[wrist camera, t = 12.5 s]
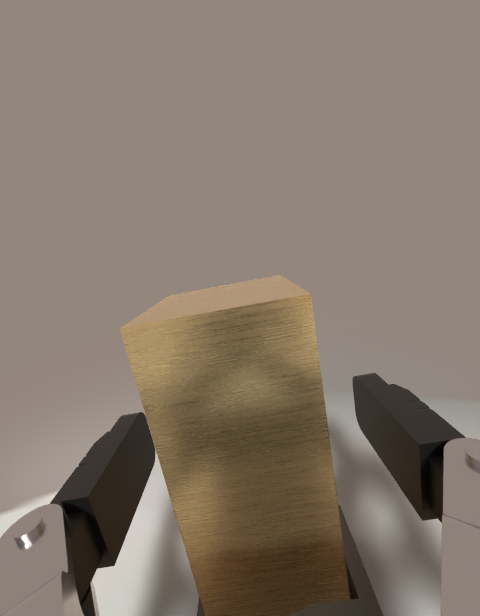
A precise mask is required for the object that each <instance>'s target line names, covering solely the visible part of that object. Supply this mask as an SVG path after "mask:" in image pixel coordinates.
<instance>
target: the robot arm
mask: <svg viewBox="0 0 480 616" xmlns="http://www.w3.org/2000/svg"><path fill="white" fill-rule="evenodd" d="M353 391H354V401H355V411H356V417H357V421H358V424H359V426H360V428H361V430H362V432H363V434H364V435H365V437H366V438H367V439H368V441H369V442H370V444H371V445H372V447H373V448H374V450H375V451H376V453H377V454H378V456H379V457H380V459H381V460H382V462H383V463H384V465H385V466H386V467H387V469H388V470H389V472H390V473H391V475H392V476H393V478H394V479H395V481H396V482H397V484H398V485H399V487H400V488H401V490H402V491H403V493H404V494H405V496H406V497H407V498H408V500H409V501H410V503H411V504H412V506H413V507H414V509H415V510H416V512H417V513H418V515H419V516H420V518H421V519H422V521H424V520H430V519H437V518H438V519H439V520H440V521H441V523H442V559H441V616H480V440H478V439H472V438H466V437H464V436H463V435H462V434H461V433H460V432H458V431H457V430H456V429H455V428H454V427H452V426H451V425H450V424H449V423H448V422H446V421H445V420H444V419H443V418H442V417H440V416H439V415H438V414H437V413H436V412H434V411H433V410H432V409H431V410H430V408H429V407H428V406H427V405H426V404H425V403H423V402H421V401H420V399H419V398H417V397H416V396H415V395H414V394H413V393H411V392H410V391H409V390H407V389H404V388H402V387H400V386H398V385H395V384H391V385H388V384H387V383H386V382H385V381H384V380H382V378H380V377H379V376H378V375H377V374H376V373H371V374H365V375H359V376H354V377H353ZM154 462H155V447H154V443H153V440H152V436H151V433H150V430H149V426H148V423H147V420H146V417H145V415H144V413H142V412H140V413H134V414H128V415H123V416H121V417H120V418H119V419H118V421H117V422H116V423H115V425H114V426H113V428H112V429H111V431H110V432H107V433H106V434H105V435H104V436H102V437H101V438H100V439H99V440H98V441H96V443H94V445H93V446H92V447H91V449H90V450H89V452H88V453H87V454H86V457H84V458H83V460H82V461H81V462H80V464H79V467H77V468H76V469H75V470H74V472H73V473H72V474H71V476H70V477H69V478H68V480H67V481H66V482H65V484H64V485H63V487H62V488H61V489H60V491H59V492H58V493H57V495H56V496H55V497H54V499H53V500H52V501H51V503H50V504H48V505H44V506H41V507H39V508H37V509H35V510H33V511H31V512H29V513H28V514H26V515H25V516H23V517H22V518H20V519H19V520H18V521H17V522H15V523H14V524H13V525H12V526H11V527H10V528H9V529H8V530H7V531H6V532H5V533H4V534H3V536H2V537H1V538H0V616H99V611H98V605H97V599H96V594H95V588H94V585H93V583H92V579H93V576H94V574H95V572H96V570H97V568H103V567H110V566H114V565H115V563H116V560H117V558H118V555H119V552H120V550H121V547H122V545H123V542H124V540H125V537H126V535H127V532H128V529H129V527H130V524H131V522H132V519H133V517H134V514H135V512H136V509H137V506H138V504H139V501H140V499H141V496H142V494H143V491H144V489H145V486H146V483H147V481H148V478H149V476H150V473H151V471H152V468H153V466H154ZM291 616H369V615H368V612H367V609H366V607H365V604H364V601H363V598H359V599H352V600H345V601H338V602H331V603H324V604H317V605H310V606H308V607H306V608H304V609H302V610H301V611H299V612H297V613H295V614H293V615H291Z"/></svg>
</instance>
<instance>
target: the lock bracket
mask: <svg viewBox="0 0 480 616" xmlns="http://www.w3.org/2000/svg"><path fill="white" fill-rule="evenodd" d="M338 510H339V517H340V525H341V533H342V541H343V548H344V556H345V564H346V572H347V579H348V587H349V593H350V596H351V599H359V598H363V601H364V604H365V607H366V609H367V612H368V615H369V616H383V614H382V612H381V609H380V607H379V604H378V602H377V599H376V596H375V594H374V591H373V589H372V586H371V584H370V581H369V579H368V576H367V574H366V571H365V569H364V566H363V564H362V561H361V558H360V556H359V553H358V551H357V548H356V546H355V543H354V541H353V538H352V536H351V533H350V531H349V528H348V525H347V523H346V520H345V518H344V515H343V513H342V510H341V508H340V505H338ZM197 616H205V613H204V609H203V606H202V603H201V599H200V596H199V604H198V613H197Z"/></svg>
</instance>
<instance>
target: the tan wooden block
mask: <svg viewBox="0 0 480 616" xmlns="http://www.w3.org/2000/svg"><path fill="white" fill-rule="evenodd" d="M120 330H121V334H122V337H123V340H124V344H125V347H126V350H127V354H128V357H129V360H130V364H131V367H132V370H133V374H134V377H135V380H136V384H137V387H138V391H139V394H140V397H141V401H142V404H143V408H144V411H145V414H146V418H147V421H148V424H149V428H150V431H151V434H152V438H153V441H154V445H155V448H156V451H157V455H158V458H159V461H160V465H161V468H162V471H163V475H164V478H165V482H166V485H167V488H168V492H169V495H170V498H171V502H172V505H173V508H174V512H175V515H176V519H177V522H178V525H179V529H180V532H181V535H182V539H183V542H184V545H185V549H186V552H187V556H188V559H189V562H190V566H191V569H192V572H193V576H194V579H195V582H196V586H197V589H198V592H199V596H200V599H201V603H202V606H203V609H204V613H205V616H291V615H293V614H295V613H297V612H299V611H301V610H302V609H304V608H306V607H308V606H310V605H317V604H324V603H331V602H338V601H345V600H350V595H349V587H348V579H347V572H346V564H345V556H344V548H343V541H342V533H341V525H340V517H339V510H338V502H337V494H336V486H335V479H334V471H333V463H332V456H331V448H330V440H329V432H328V425H327V417H326V409H325V401H324V394H323V386H322V378H321V371H320V363H319V357H318V356H319V355H318V347H317V339H316V332H315V324H314V317H313V309H312V301H311V294H310V293H309V292H307V291H305V290H304V289H302V288H300V287H299V286H297V285H296V284H294V283H293V282H291V281H289V280H288V279H286V278H285V277H283V276H281V275H277V276H272V277H266V278H261V279H256V280H250V281H245V282H239V283H234V284H229V285H224V286H218V287H213V288H207V289H202V290H197V291H191V292H186V293H180V294H175V295H169V296H168V297H166V298H165V299H163V300H162V301H161V302H159V303H157V304H156V305H155V306H153V307H151V308H150V309H148V310H147V311H146V312H144V313H142V314H141V315H139V316H138V317H137V318H135V319H134V320H132V321H131V322H129V323H128V324H126V325H125V326H123V327H122V328H120Z"/></svg>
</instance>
